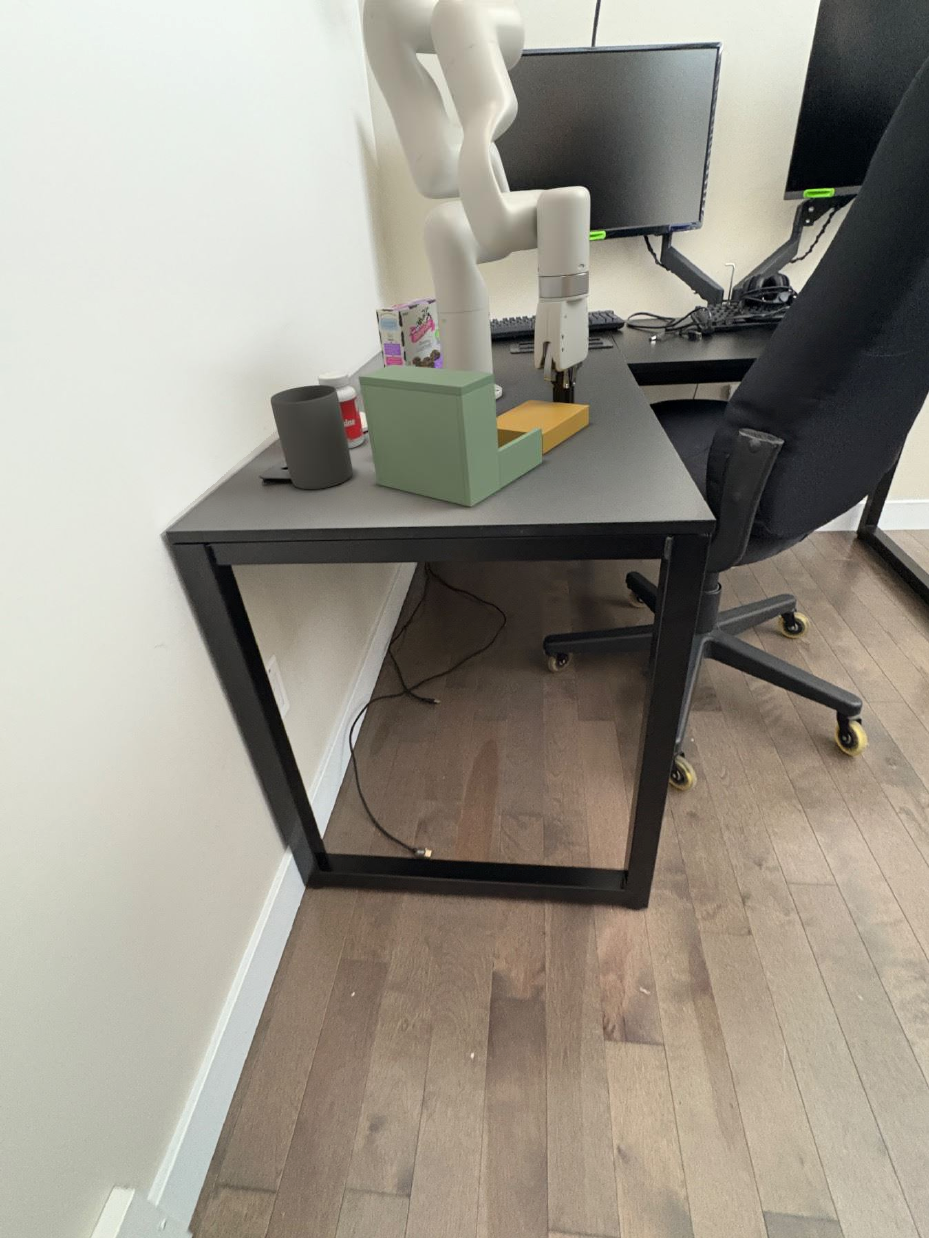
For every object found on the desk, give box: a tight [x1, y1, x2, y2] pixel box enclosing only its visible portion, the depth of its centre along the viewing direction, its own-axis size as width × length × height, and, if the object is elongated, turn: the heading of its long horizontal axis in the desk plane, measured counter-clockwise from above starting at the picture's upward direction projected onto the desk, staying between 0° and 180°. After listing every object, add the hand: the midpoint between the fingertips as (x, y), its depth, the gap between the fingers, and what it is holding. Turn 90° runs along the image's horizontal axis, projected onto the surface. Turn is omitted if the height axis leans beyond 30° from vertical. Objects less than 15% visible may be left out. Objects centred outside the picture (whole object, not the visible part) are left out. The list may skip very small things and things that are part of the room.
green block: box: [358, 365, 543, 508], centre depth 81 cm, size 17×17×14 cm
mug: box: [270, 384, 353, 490], centre depth 86 cm, size 14×9×12 cm
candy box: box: [375, 298, 443, 369], centre depth 120 cm, size 14×6×16 cm, turn 148°
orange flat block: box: [496, 399, 590, 455], centre depth 95 cm, size 15×11×3 cm
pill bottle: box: [317, 370, 365, 450], centre depth 97 cm, size 6×6×11 cm
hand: (563, 410), depth 101 cm, fingers closed
